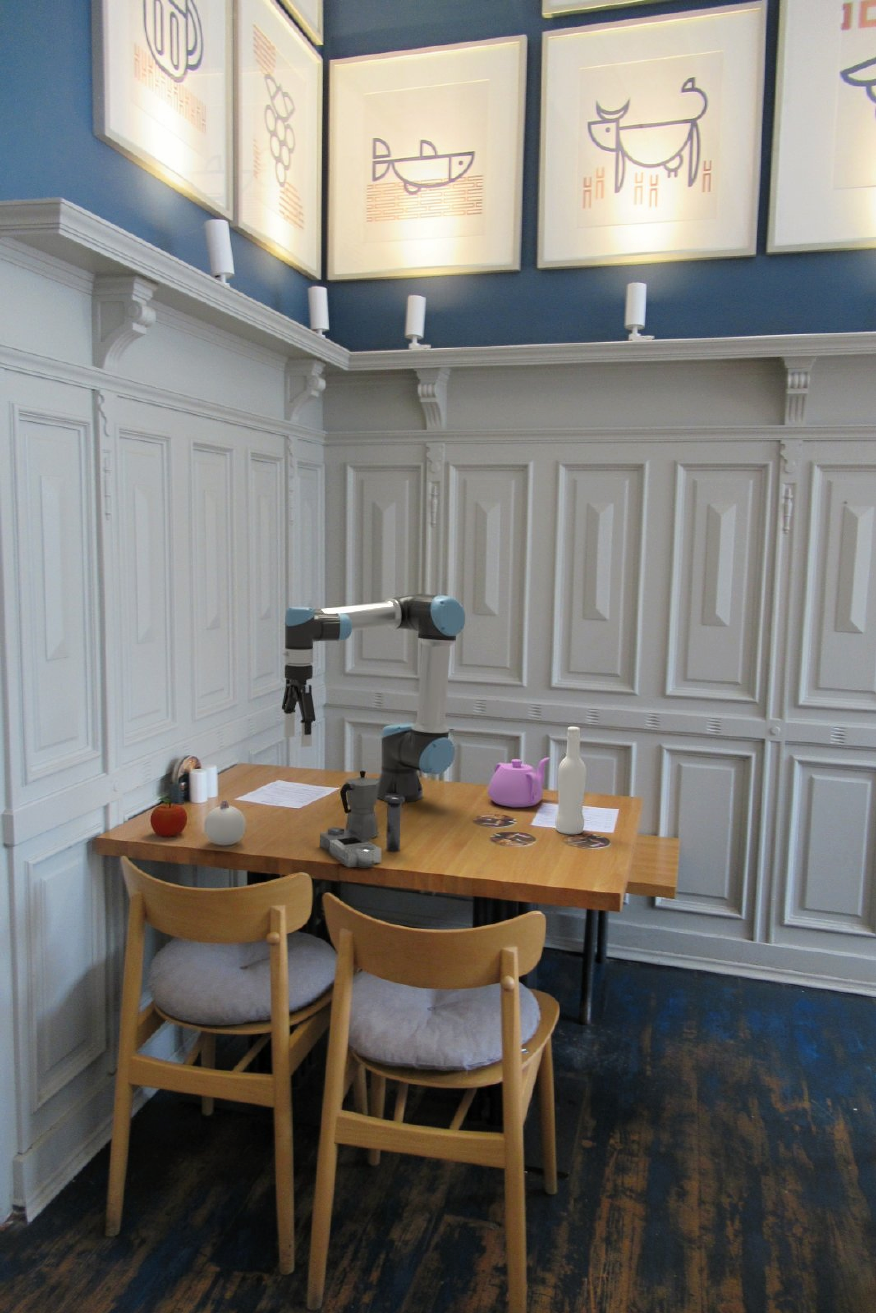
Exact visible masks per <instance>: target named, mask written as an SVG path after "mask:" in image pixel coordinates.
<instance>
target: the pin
mask: <svg viewBox="0 0 876 1313" xmlns="http://www.w3.org/2000/svg"><path fill="white" fill-rule="evenodd" d="M383 801H384V802H385V803H387V805H386V809H387V810H386V811H387V812H386V843H385V844H386V845H385V846H386V847H385V849H386V851H388V852H394V853H395V852H399V851H400V850H401V831H402V830H401V826H402V824H401V822H402V804H403V803H405V802H404V796H401V795H387V796H385V798H384V800H383Z"/></svg>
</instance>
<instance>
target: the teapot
mask: <svg viewBox="0 0 876 1313" xmlns="http://www.w3.org/2000/svg"><path fill="white" fill-rule="evenodd" d="M550 758H551V757H550V756H549V757H545V758H543V759H541V760H540V761H539V764H538V766H537V770H535V769H534V767H533V766H532V765H529V764H526V763H523V760H522V759H518V758H513V759H511V760H510V761H511V763H510V762H508V763H504V762H498V763H497V764H495V766H494V774H493V776H492V777H491V779H490V781H489V784H488V789H487V794H488V797H489V798H490V799H491V801H492V802H493V803H495V804H497V805H500V806H505V807H509V808H511V809H513V808H514V809H515V808H527V807H533V806H536V805H537V804H539V802H540V801H541V800H542V798H543V796H544V793H543V792H544V790H543V785H544V783H545V778H546V777H545V771H546V770H545V767H546V764H547V762H548V761H549V759H550Z"/></svg>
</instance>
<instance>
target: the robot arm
mask: <svg viewBox="0 0 876 1313" xmlns="http://www.w3.org/2000/svg"><path fill="white" fill-rule="evenodd" d="M284 620H285V621H284V628H285V629H284V645H285V646H284V652H283V655H282V656H284V663H286V664H285V666H284V678H285V689H284V693H283V694H284V695H283V699H282V703H281V704H282V705H281V710H282V711H283V712H284V735H283V736H284V737H285V738H292V737H293V738H294V737H295V734H296V733H295V732H296V730H295V728H296V726H295V725H296V724H295V722H296V714H295V713H296V705H297V703H298V705H299V706H298V707H299V711H300V715H301V720H300V723H301V724H300V726H301V727H300V728H301V729H300V734H301V736H300V747H302V748H303V747H304V748H306V747H312V745H313V744H312V743H313V741H312V740H313V739H312V738H313V737H312V735H313V722H315V721H316V720H317V719H316V718H317V717H316V714H315V707H314V700H313V692H312V691H313V689H312V688H313V687H312V684H307V683H308V682H307V680H311V679H313V674H314V673H313V671H314V670H313V669H314V667H313V663H314V643H316V642H332V641H333V642H334V641H336V642H339V641H346V640H347V639H349V638H350V637H351V634H352V631H353V632H354V631H363V630H370V629H371V630H372V629H379V628H388V629H390V630H398V629H400V630H403V629H404V630H411V631H414V632H415V631H416V632H417V639H418V641H419V642H420V644H421V655H420V656H421V657H420V672H419V683H418V684H419V685H418V698H417V710H416V711H417V713H416V722H415V723H398V724H397V723H396V724H390V725H389V724H388V725H386V726H384V727H383V729H382V732H381V761H380V763H381V769H380V770H381V771H380V774H379V776H378V779H379V780H378V781H380V783H379V789H378V795H377V799H378V800H382V801H384V798H385V796H387V795H401V796H404V802H403V803H405V802H406V803H408V802H414V801H418V800H421V799H422V798H423V795H424V790H423V786H422V783H421V779H420V776H419V772H422V773H423V774H428V775H429V774H431V775H441V774H442V773H444V772H446V771H447V770H448V768H450V767H451V766H452V764H453V762H454V760H455V757H456V747H455V744H454V742H453V741H452V740H451V739H450V738H449V733H450V729H449V728H448V727H447V726H446V724H445V723H446V722H445V721H446V709H447V697H448V695H447V694H448V683H449V669H450V657H451V656H450V655H451V646H452V645H454V644H455V643H456V642H457V636H458V635H459V634H460V633H462V629H463V630H464V627H465V625H466V612H465V609H464V607H463V605H462V604H461V603H460V601H459V600H458V599H456V598H454V597H452V596H447V595H443V594H441V595H440V594H439V595H438V594H429V593H428V594H427V593H414V594H408V595H403V596H397V597H396V596H395V597H389V598H387V599H386V600H384V601H381V602H372V603H365V604H364V603H363V604H362V603H361V604H355V605H353V604H352V605H344V606H335V607H325V608H316V609H314V608H313V607H311V606H290V607H288V608H286V610H285V617H284ZM418 771H419V772H418Z"/></svg>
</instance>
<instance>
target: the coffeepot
mask: <svg viewBox="0 0 876 1313" xmlns="http://www.w3.org/2000/svg"><path fill="white" fill-rule="evenodd" d="M366 773H367V771H365V770H359V777H352V778H348V779H347V780H346V781H345V782H344V784H343V785H342V786H341V789H340V791H339V794H340V798H341V804H342V806H343V810H344V813H345V814H348V815H347V818H346V823H345V829H344V830H353V831H354V832H356V833H358V834H359V835H361V836H362V837H364V838H365V839H367V840H372V839H375V838H377V836H378V835H379V830H378V823H377V815H376V812H375V806H376V805H377V802H378V801H377V799H378V798H377V795H378V789H379V783H380V781H378V780H379V778H377V777H367V776H366Z"/></svg>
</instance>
